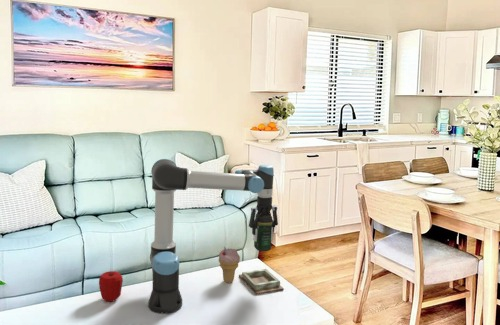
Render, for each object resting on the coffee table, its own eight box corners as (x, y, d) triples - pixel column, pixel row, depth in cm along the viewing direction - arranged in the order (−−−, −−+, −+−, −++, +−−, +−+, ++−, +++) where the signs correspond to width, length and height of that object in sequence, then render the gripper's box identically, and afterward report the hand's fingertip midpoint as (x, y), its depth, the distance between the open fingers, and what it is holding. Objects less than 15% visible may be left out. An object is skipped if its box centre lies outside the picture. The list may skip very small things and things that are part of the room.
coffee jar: (272, 251, 214) (274, 215, 211) (257, 252, 212) (259, 216, 209) (266, 244, 223) (268, 210, 220) (252, 245, 221) (253, 211, 218)
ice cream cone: (236, 287, 215) (237, 249, 211) (215, 284, 217) (216, 247, 214) (241, 278, 225) (242, 242, 222) (221, 275, 227) (222, 239, 224)
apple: (125, 301, 196) (125, 274, 193) (102, 306, 190) (101, 278, 188) (119, 292, 205) (119, 265, 202) (97, 296, 199) (96, 269, 197)
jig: (256, 294, 208) (256, 288, 207) (238, 276, 227) (239, 270, 227) (283, 290, 214) (283, 283, 213) (264, 272, 234) (264, 266, 233)
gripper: (249, 199, 205) (247, 244, 209) (286, 196, 214) (284, 239, 218) (242, 195, 212) (241, 239, 216) (279, 193, 221) (277, 235, 224)
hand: (262, 239), depth 217 cm, fingers closed on coffee jar, 8 cm apart
